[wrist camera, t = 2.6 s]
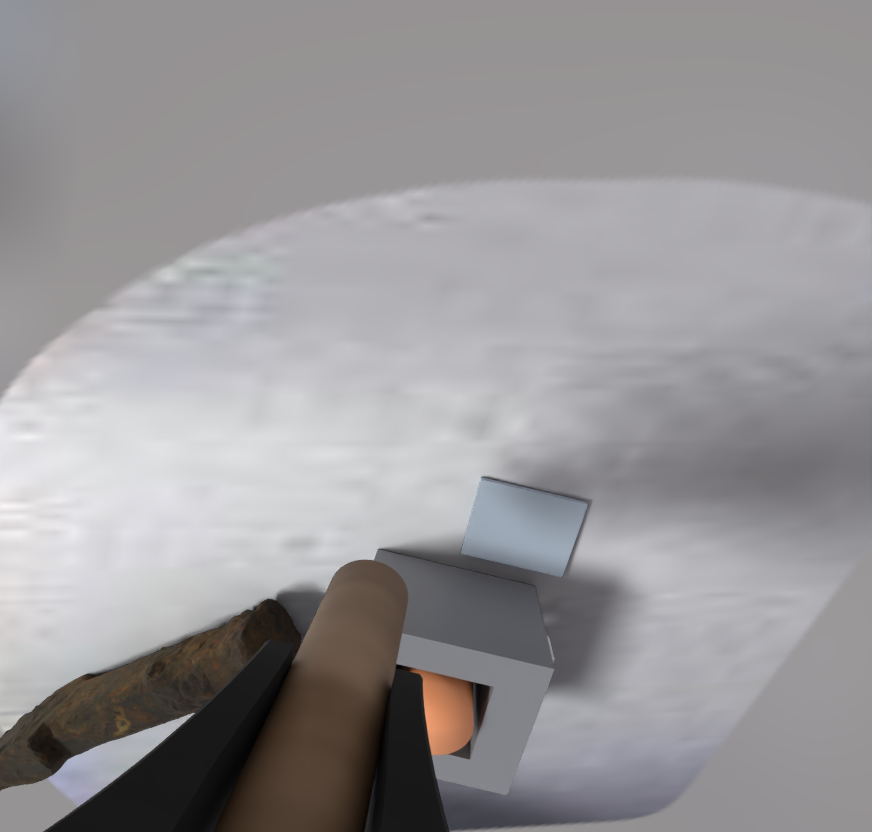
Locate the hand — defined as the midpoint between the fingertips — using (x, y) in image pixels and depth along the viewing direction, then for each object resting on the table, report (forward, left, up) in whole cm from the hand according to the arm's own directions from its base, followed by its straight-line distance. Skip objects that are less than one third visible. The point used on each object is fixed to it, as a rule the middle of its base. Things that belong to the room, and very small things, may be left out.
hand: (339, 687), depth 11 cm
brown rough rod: (-14, +11, -11) cm, 21 cm away
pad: (0, -6, -10) cm, 12 cm away
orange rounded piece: (-6, -3, -7) cm, 10 cm away
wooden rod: (0, 0, -3) cm, 3 cm away
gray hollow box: (-6, -4, -10) cm, 13 cm away
